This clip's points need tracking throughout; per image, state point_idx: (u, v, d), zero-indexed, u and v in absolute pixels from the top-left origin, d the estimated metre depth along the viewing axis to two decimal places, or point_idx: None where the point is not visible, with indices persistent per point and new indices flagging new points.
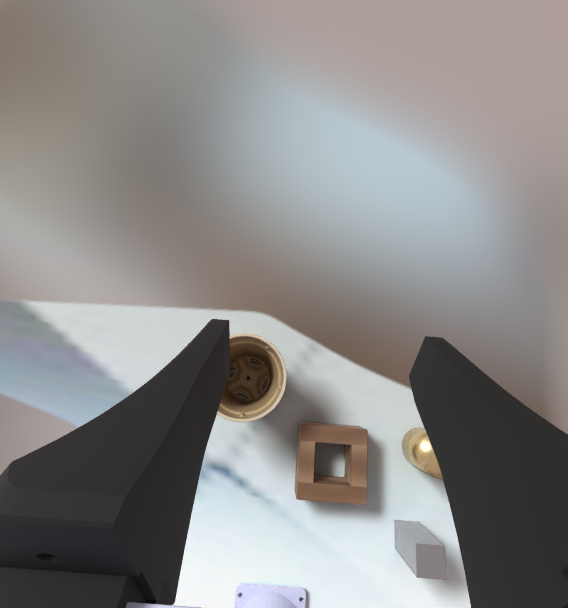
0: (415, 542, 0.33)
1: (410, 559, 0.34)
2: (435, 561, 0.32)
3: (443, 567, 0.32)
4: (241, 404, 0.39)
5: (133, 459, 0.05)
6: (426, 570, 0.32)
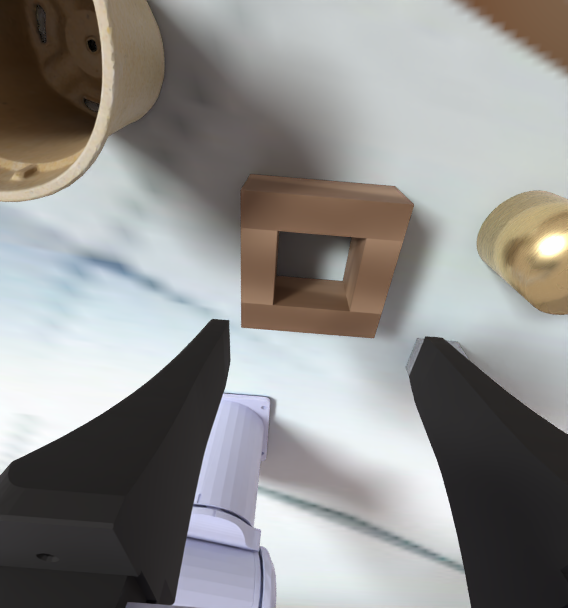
0: None
1: None
2: None
3: None
4: (77, 132, 0.14)
5: (133, 459, 0.05)
6: None
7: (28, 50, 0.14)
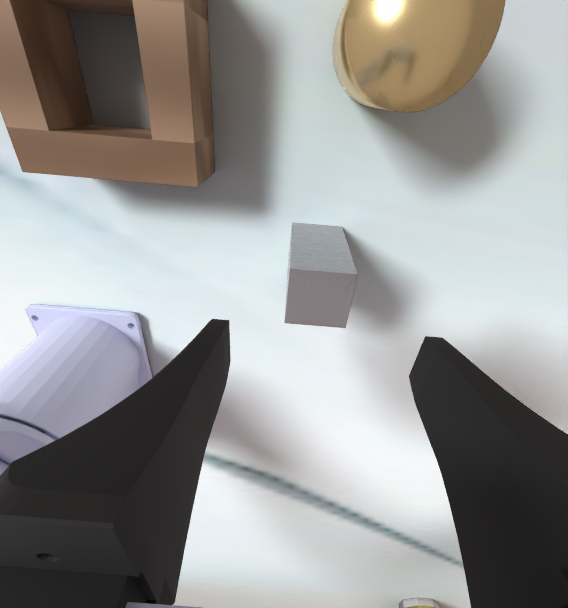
0: (290, 266, 0.14)
1: None
2: (330, 300, 0.15)
3: (345, 310, 0.15)
4: None
5: (133, 459, 0.05)
6: (307, 313, 0.15)
7: None
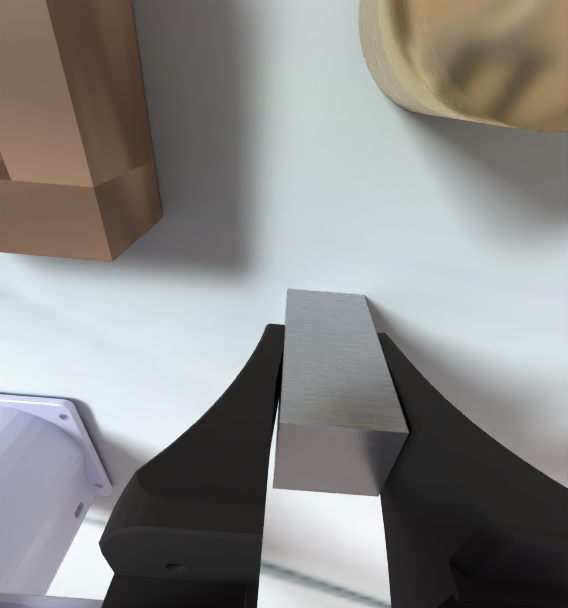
0: (281, 416, 0.07)
1: None
2: (353, 465, 0.08)
3: (380, 477, 0.08)
4: None
5: (250, 468, 0.05)
6: (312, 478, 0.09)
7: None
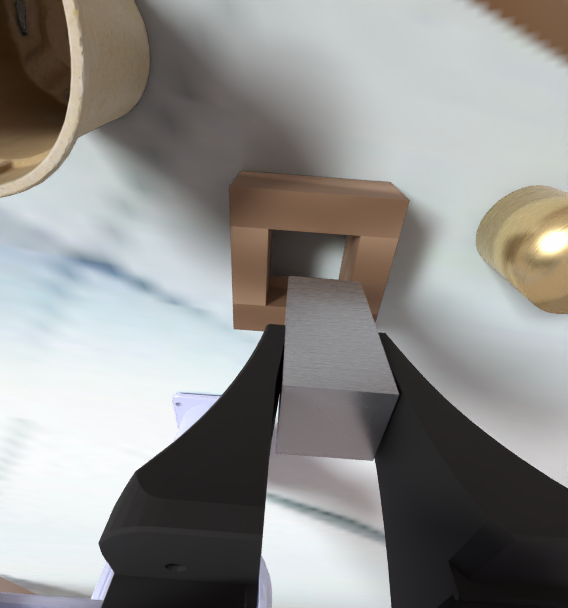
0: (284, 380, 0.08)
1: None
2: (349, 427, 0.09)
3: (374, 440, 0.09)
4: (59, 127, 0.14)
5: (250, 468, 0.05)
6: (311, 442, 0.09)
7: (9, 44, 0.14)
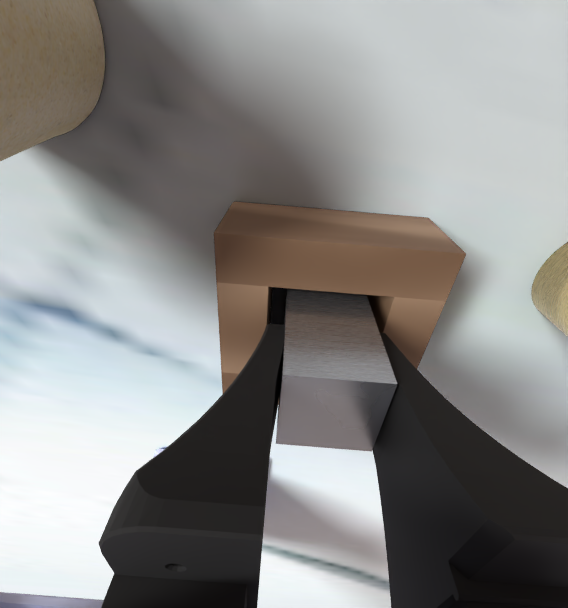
0: (284, 370, 0.08)
1: None
2: (348, 417, 0.09)
3: (373, 430, 0.09)
4: None
5: (250, 468, 0.05)
6: (311, 433, 0.09)
7: None
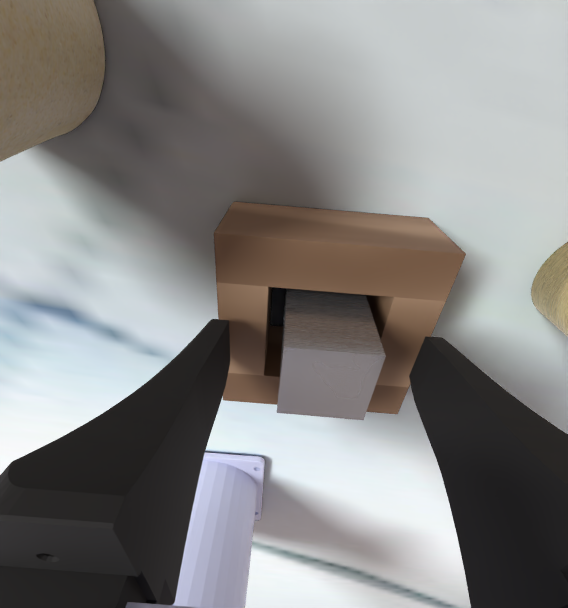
0: (285, 343, 0.09)
1: None
2: (342, 388, 0.10)
3: (364, 400, 0.10)
4: None
5: (133, 459, 0.05)
6: (309, 402, 0.10)
7: None
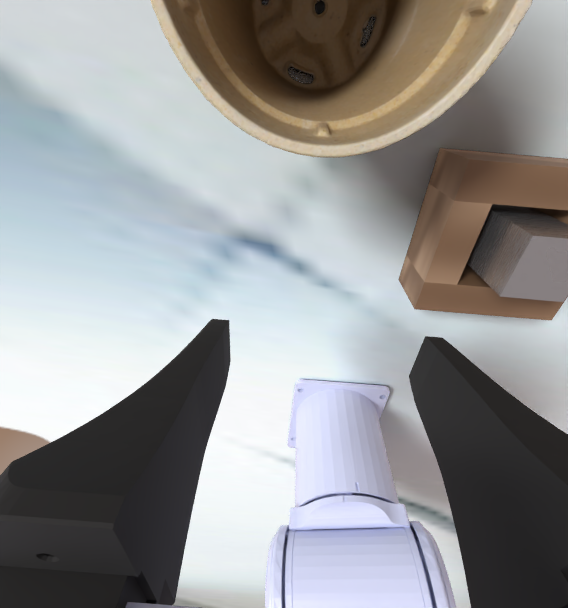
0: (531, 234, 0.13)
1: (492, 265, 0.15)
2: (560, 271, 0.14)
3: None
4: (304, 97, 0.13)
5: (133, 459, 0.05)
6: (529, 286, 0.14)
7: (248, 13, 0.14)
